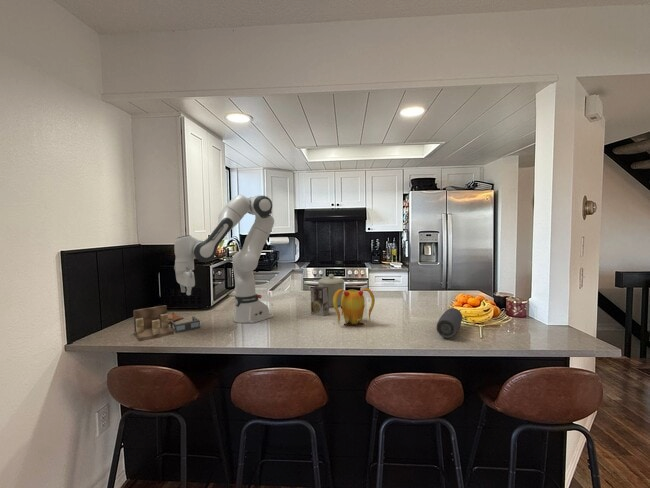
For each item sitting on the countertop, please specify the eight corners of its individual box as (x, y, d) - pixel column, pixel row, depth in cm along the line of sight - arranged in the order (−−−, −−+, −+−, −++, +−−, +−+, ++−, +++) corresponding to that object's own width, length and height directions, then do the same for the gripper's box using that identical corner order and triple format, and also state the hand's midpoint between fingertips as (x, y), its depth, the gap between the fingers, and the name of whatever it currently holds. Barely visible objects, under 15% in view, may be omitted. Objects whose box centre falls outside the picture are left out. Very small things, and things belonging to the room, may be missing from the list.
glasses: (193, 323, 173) (193, 316, 173) (200, 327, 166) (199, 320, 165) (170, 328, 166) (170, 320, 165) (175, 333, 158) (175, 325, 158)
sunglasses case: (161, 327, 167) (156, 316, 167) (152, 333, 168) (147, 322, 169) (185, 318, 184) (179, 308, 185) (176, 323, 186) (171, 313, 186)
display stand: (166, 327, 167) (165, 305, 167) (173, 333, 157) (172, 310, 156) (134, 333, 158) (133, 310, 157) (139, 341, 147) (138, 316, 146)
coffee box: (329, 313, 188) (328, 286, 187) (323, 316, 183) (322, 288, 182) (316, 311, 193) (316, 285, 192) (310, 314, 188) (310, 287, 187)
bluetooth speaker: (444, 324, 163) (444, 305, 162) (463, 327, 158) (463, 308, 158) (434, 338, 143) (434, 317, 143) (456, 342, 139) (456, 320, 138)
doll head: (369, 318, 176) (369, 284, 175) (376, 327, 161) (376, 289, 160) (331, 320, 174) (330, 285, 173) (334, 328, 159) (333, 291, 158)
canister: (315, 308, 200) (314, 276, 198) (320, 301, 217) (320, 271, 216) (343, 309, 197) (343, 276, 195) (346, 302, 214) (346, 272, 213)
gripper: (197, 268, 155) (198, 295, 155) (185, 264, 170) (186, 289, 171) (184, 269, 151) (185, 297, 151) (173, 265, 166) (174, 291, 167)
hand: (186, 293), depth 161 cm, fingers open, 8 cm apart
